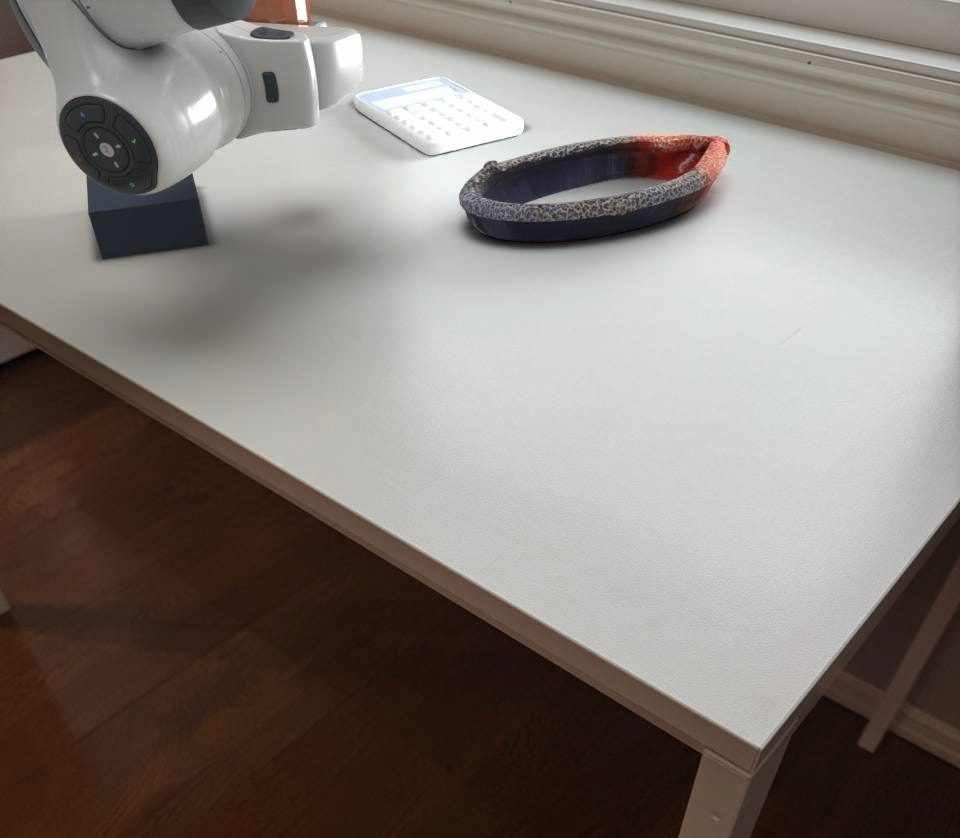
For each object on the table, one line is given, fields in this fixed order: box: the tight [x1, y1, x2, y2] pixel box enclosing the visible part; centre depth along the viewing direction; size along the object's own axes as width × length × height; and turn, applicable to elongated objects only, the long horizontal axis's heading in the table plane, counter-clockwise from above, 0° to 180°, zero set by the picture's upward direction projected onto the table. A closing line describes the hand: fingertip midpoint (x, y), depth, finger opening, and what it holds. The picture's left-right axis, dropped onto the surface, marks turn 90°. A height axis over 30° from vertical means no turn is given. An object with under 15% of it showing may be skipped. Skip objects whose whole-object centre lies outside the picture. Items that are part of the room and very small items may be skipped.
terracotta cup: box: [242, 0, 312, 25], centre depth 86 cm, size 7×7×10 cm
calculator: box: [353, 76, 525, 156], centre depth 117 cm, size 13×20×2 cm, turn 31°
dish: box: [458, 133, 731, 243], centre depth 97 cm, size 16×31×5 cm, turn 115°
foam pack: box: [85, 172, 210, 260], centre depth 96 cm, size 10×14×5 cm
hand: (278, 29), depth 86 cm, fingers closed on terracotta cup, 7 cm apart
